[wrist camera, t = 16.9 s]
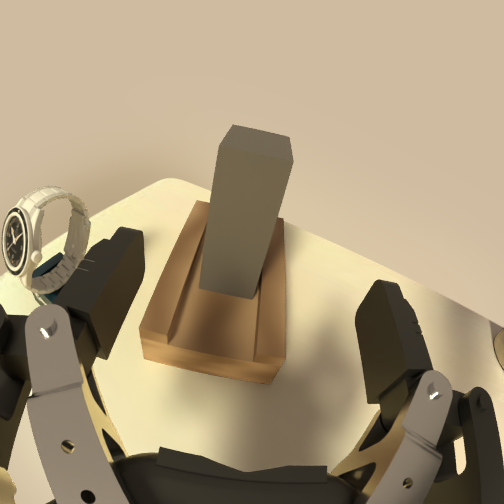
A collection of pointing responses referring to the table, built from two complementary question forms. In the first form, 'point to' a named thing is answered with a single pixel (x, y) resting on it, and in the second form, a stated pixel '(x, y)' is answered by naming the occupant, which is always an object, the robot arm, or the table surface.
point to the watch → (30, 243)
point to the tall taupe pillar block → (243, 209)
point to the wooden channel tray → (217, 313)
